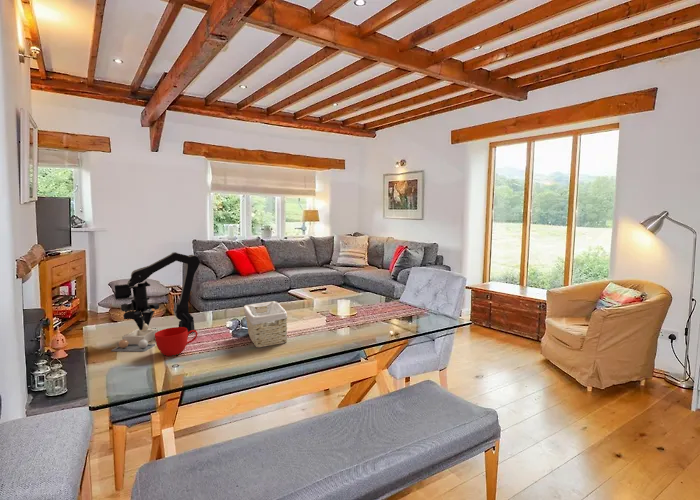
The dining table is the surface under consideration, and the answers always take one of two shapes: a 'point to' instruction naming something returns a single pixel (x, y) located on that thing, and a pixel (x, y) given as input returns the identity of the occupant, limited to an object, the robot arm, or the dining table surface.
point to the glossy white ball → (143, 344)
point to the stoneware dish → (140, 336)
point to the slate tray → (133, 348)
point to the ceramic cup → (173, 340)
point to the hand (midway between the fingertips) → (143, 328)
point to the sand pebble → (144, 327)
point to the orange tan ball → (123, 343)
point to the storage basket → (266, 324)
